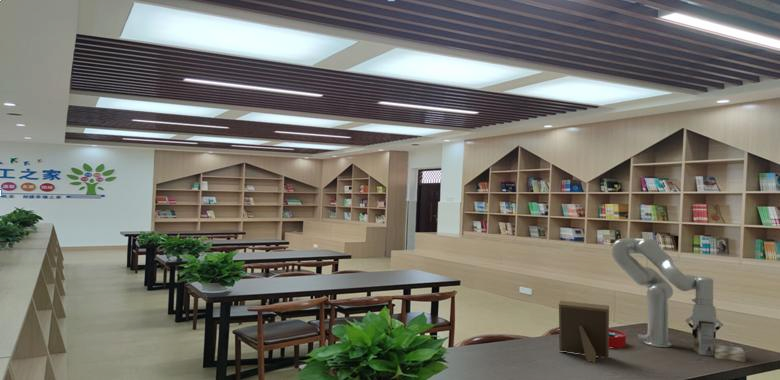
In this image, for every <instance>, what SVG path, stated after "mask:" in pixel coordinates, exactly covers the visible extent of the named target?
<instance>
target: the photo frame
mask: <svg viewBox="0 0 780 380" xmlns="http://www.w3.org/2000/svg"><path fill="white" fill-rule="evenodd" d="M609 329H610V305H606V304H595V303H586V302H575V301H566V300H559V303H558V333H559V334H558V335H559V336H558V340H559V341H558V342H559V344H558V345H559V346H558V347H559V348H558V350H560V351H567V352H574V353H580V354H585V356H584V357H585V360H586V359H587V360H590V361H593V362H595V363H596V358H597V357H596V356H598V357H604V358H608V359H609V352H610V351H609V349H610V348H609ZM604 358H603V359H604ZM590 361H589V362H590ZM593 362H592V363H593Z"/></svg>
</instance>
